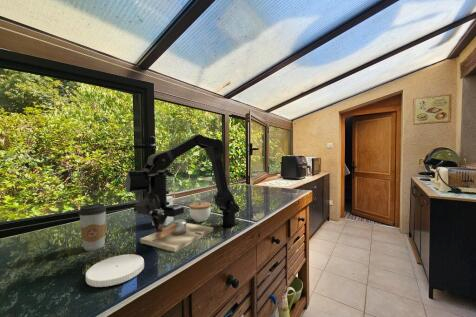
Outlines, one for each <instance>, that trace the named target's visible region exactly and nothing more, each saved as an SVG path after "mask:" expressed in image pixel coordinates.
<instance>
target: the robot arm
mask: <svg viewBox="0 0 476 317" xmlns="http://www.w3.org/2000/svg"><path fill="white" fill-rule="evenodd" d="M195 147H199V148H201V149H204V151H205V154H206V156H207V157H208V159H209V160H210V163H211V167H212V172H213V176H214V177H213V178H214V181H215V185H216V191H217V192H216V194H215V195H214V196H213V198H214V203H215V205H216V206H217V207H218V209H219V211H221V212H222V222H221V223H220V224H219V225H220V226H221V227H226V228H233V227H235V226H236V225H239V221H237V220H236V215H237V213H239V212H240V209H241V208H240V206H239V204H237V203H236V201H235V198H234V196H233V194H232V192H231V190H230V189H229V187H228V186H229V185H228V182H227V178H226V172H225V167H224V162H223V155H224V152H225V151H224V143H223V141H222V140H221V139H220V138H213V137H208V136H205V135H202V134H199V133H198V134H193V135H192V136H190V137H189V138H186V139H185V140H183V141H182V142H179V143H178V144H176V145H175V146H171V148H169V149H166V150H163V151H159V152H156V153H153V154H151V155H149V156H148V157H147V161H146V162H147V163H146V164H145V165H144V167H143V168H142V169H141V170H137V171H133V170H128V171H127V173H126V174H127V175H126V176H125V181H124V186H125V190H126V192H127V193H132V192H143V191H146V190H147V189H148V188H149V191H148V192H146V197H145V198H143V199H141V200H139V201H138V202H136V203H135V204H134V206H133V211H134V212H136V214H138V215H139V214H142V215H144V216H148V217H149V218H150V219H151V222H152V221H153V223H154V227H155V230H156V232H157V231H159V230H161V229H163V227H164V226H163V224H164V222H165V220H166V218H167V216H169V217H173V218H174V217H177V216H179V215H182V214H184V213H185V212H184V211H185V209H184V208H185V207H184V206H183V205H181V204H174V203H173V205H171V206H167V205H169V202H167V196H168V195H170V190H167V185H168V184H167V183H168V182H167V181H168V180H167V177H168V176H169V177H170V176H173V173H172V172H170V171H169V169H167V168H168V167H169V166H171V165H172V164H173V163H174V161H175V160H176V159H178V158H179V157H180V156H182V155H184V154H185V153H187V152H189V151H191V150H192V149H194V148H195ZM160 208H162V209H160Z"/></svg>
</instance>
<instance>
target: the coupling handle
mask: <svg viewBox="0 0 476 317" xmlns="http://www.w3.org/2000/svg"><path fill="white" fill-rule="evenodd" d="M186 223H187V220H186V219H180V218H178V219H175V220H174V219H173V221H171V223H170V224H168V225H167V226H164V227H162V229H161V230H159V231H156V232H155V233H156V238H162V237H164V236H166V235H167V234H169V233H171V234H173V235H180V234H184V233H186Z"/></svg>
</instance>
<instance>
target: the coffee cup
mask: <svg viewBox="0 0 476 317" xmlns="http://www.w3.org/2000/svg"><path fill="white" fill-rule="evenodd" d="M106 214H107V206H106V205H105V204H104V203H93V204H87V205H83V206H80V209H79V211H78V215H79V220H80V222H79V223H80V230H81V239H82V245H83V249H84V250H85V251H87V252H88V251H96V250H99V249H101V248H103V247H104V246H105V245H106V244H105V241H106V228H107V227H106V226H107V225H106V224H107V223H106V221H107V220H106V219H107V218H106Z"/></svg>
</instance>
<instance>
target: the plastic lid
mask: <svg viewBox="0 0 476 317" xmlns="http://www.w3.org/2000/svg"><path fill="white" fill-rule="evenodd" d="M144 268H145V260H144V258H143V257H142V256H141V255H138V254H135V253H134V254H133V253H131V254H129V253H127V254H120V255H119V254H118V255H116V256H111V257H107V258H106V259H103V260H100V261H99V262H97V263H95V264H93V265H92V266H91V267H89V268H88V269H87V270H86V272H85V282H86V284H87V285H89V286H90V287H95V288H98V287H99V288H104V287H109V286H110V287H111V286H114V285H120V284H122V283H125V282H127V281H129V280H131V279H133V278H135V277H137V276H139V274H140V273H141V272H142V271H143V270H144Z"/></svg>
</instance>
